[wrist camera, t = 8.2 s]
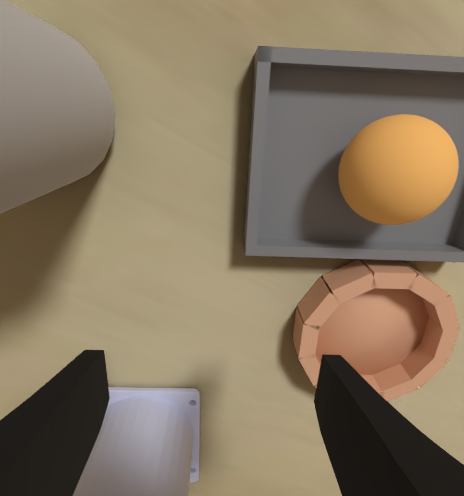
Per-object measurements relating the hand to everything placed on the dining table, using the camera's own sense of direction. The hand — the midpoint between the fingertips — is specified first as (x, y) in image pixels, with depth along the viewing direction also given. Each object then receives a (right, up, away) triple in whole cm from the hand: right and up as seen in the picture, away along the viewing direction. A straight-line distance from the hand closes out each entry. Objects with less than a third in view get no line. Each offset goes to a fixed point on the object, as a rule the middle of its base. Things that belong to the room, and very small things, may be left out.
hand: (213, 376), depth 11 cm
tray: (+8, +9, +7) cm, 14 cm away
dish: (+10, -1, +11) cm, 15 cm away
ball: (+8, +8, +5) cm, 12 cm away
